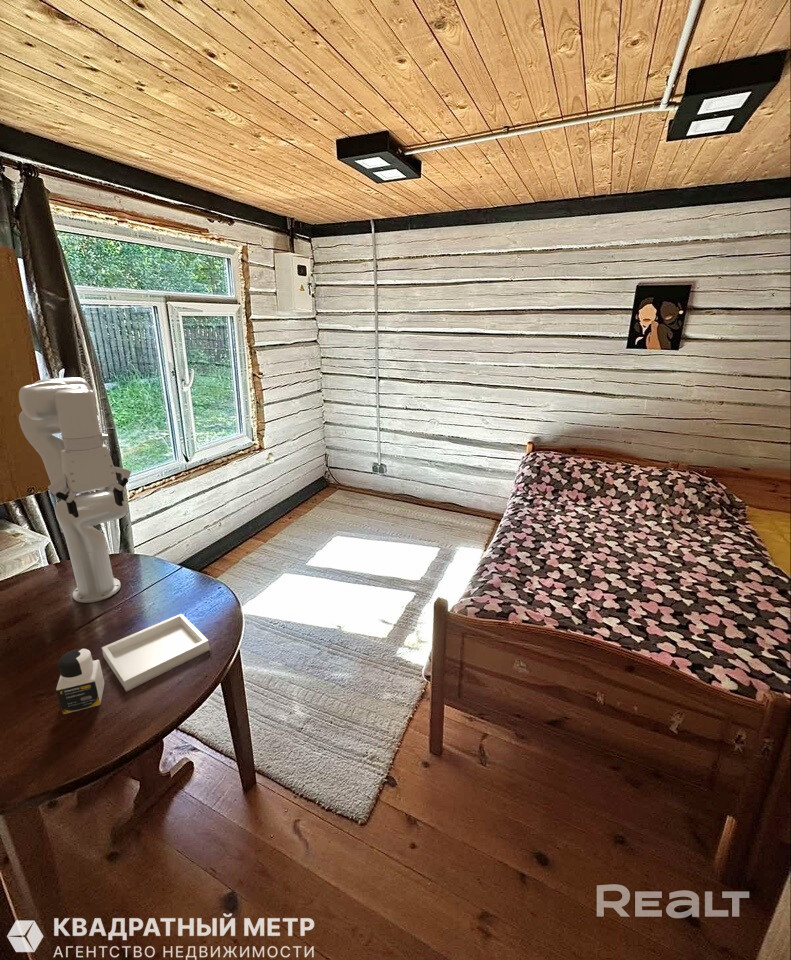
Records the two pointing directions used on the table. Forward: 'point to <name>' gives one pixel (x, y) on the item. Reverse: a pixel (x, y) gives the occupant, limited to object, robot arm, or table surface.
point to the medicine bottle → (79, 681)
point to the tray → (154, 651)
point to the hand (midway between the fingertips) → (97, 510)
